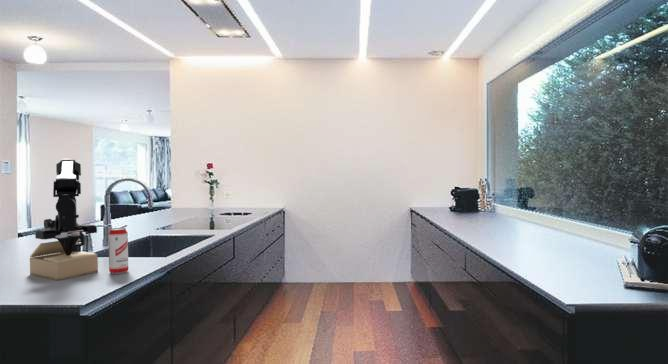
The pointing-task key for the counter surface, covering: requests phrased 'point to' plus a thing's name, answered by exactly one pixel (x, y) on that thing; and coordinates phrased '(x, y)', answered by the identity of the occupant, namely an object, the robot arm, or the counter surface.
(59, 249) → the flap
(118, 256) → the beer can
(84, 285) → the counter surface
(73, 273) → the cardboard box
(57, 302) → the counter surface
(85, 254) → the flap
